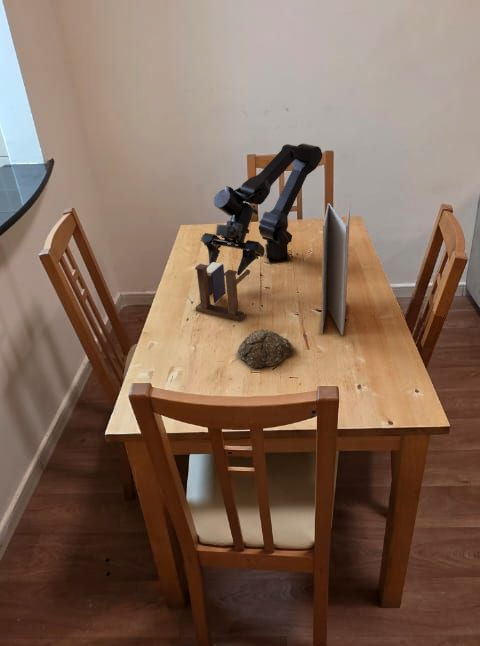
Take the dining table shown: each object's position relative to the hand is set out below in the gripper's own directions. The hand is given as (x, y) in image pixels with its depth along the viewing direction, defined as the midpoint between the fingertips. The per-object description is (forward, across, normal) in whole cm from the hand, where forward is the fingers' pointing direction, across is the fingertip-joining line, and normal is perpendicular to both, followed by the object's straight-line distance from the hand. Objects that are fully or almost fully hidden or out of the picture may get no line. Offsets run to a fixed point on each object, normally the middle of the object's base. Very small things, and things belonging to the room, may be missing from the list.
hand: (224, 272), depth 161 cm
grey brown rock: (+21, +24, -11) cm, 34 cm away
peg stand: (+10, +4, 0) cm, 10 cm away
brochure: (+6, +34, +4) cm, 35 cm away
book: (+8, 0, -1) cm, 8 cm away
